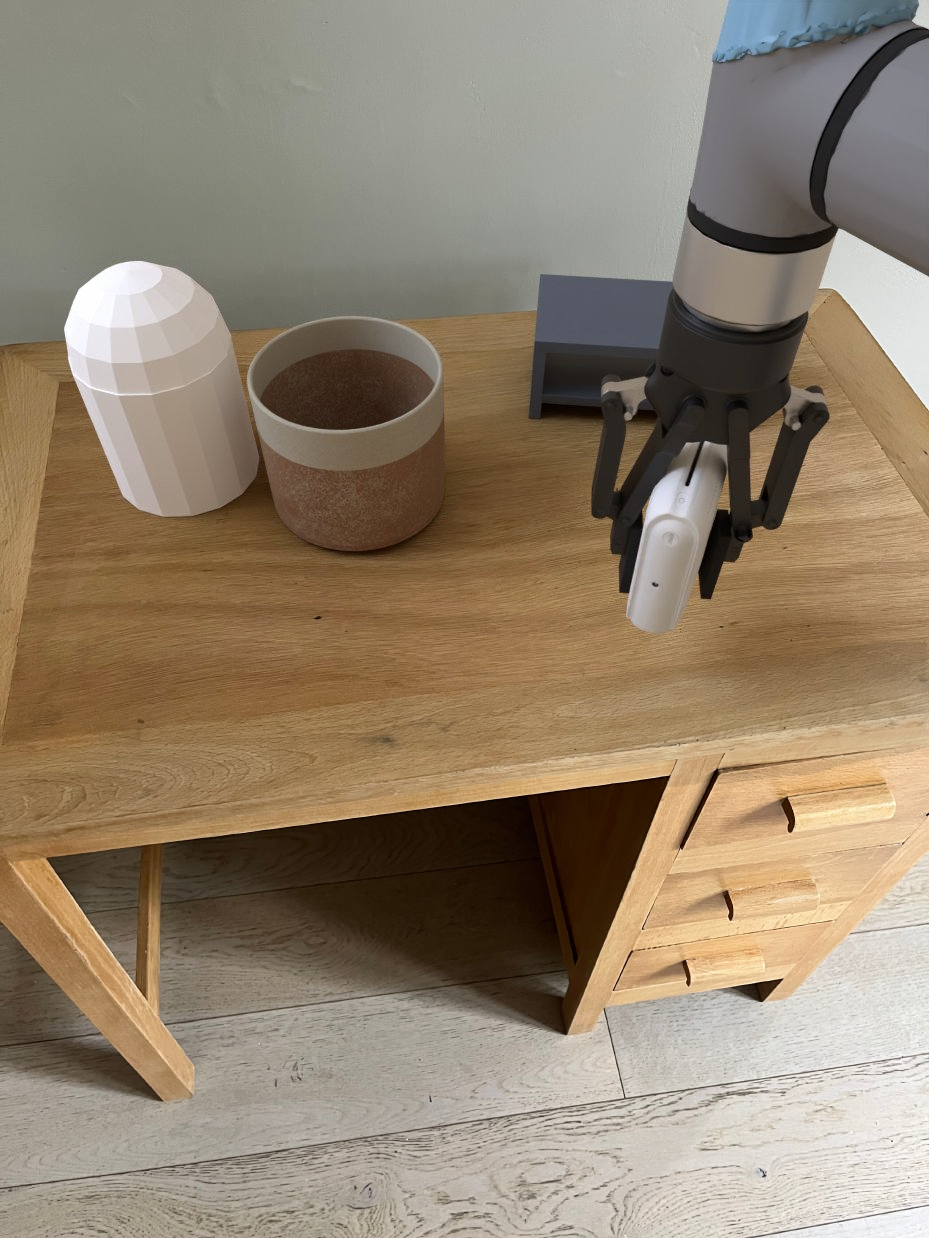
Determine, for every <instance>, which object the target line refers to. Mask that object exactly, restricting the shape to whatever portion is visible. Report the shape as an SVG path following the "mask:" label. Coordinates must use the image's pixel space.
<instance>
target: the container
mask: <svg viewBox="0 0 929 1238" xmlns="http://www.w3.org/2000/svg"><path fill="white" fill-rule="evenodd" d="M63 331H64V336H65V344H66V350H67V359H68V364H69V366H70V367H69V368H70V370H71V374H72V377H73V379H74V381H75V384H76V386H77V388H78V391H79V393H80V396H81V399H82V401H83V403H84V405H85V408H86V411H87V413H88V416H89V418H90V420H91V422H92V425H93V427H94V430H95V433H96V434H97V437H98V439H99V443H100V445H101V447H102V449H103V451H104V455H105V456H106V459H107V461H108V464H109V466H110V469H111V471H112V473H113V476H114V479H115V481H116V483H117V486H118V488H119V491H120V493H121V495H122V497H123V498H124V499H125V500H127V501H128V502H129V503H130V504H131V505H132V506H134V507H135V508H136V509H137V510H139V511H142V512H145V513H149V514H151V515H155V516H159V517H163V518H166V517H167V518H169V517H194V516H198V515H200V514H205V513H208V512H210V511H214V510H218V509H221V508H222V507H224V506H225V505H227V504H229V503H230V502H233V501H234V500H235V499H237V498H238V497H240V496H241V495H243V494H244V493H245V492H246V491H247V489H248V488H249V486H250V485H251V484H252V483H253V481H254V480H255V479H256V478H257V474H258V469H259V462H260V456H259V450H258V446H257V443H256V438H255V432H254V429H253V425H252V421H251V417H250V416H251V415H250V412H249V408H248V404H247V400H246V395H245V391H244V386H243V382H242V378H241V373H240V368H239V366H238V361H237V356H236V352H235V348H234V344H233V340H232V333H231V332H230V330H229V327H228V326H227V323H226V322H225V319H224V317H223V315H222V314H221V311H220V309H219V307H218V305H217V303H216V302H215V299H214V296H213V295H212V294H211V293H210V292H208V291H207V290H206V289H205V288H204V287H203V286H202V285H200V284H199V283H198V282H196V281H195V280H194V279H193V278H192V277H191V276H190V275H187V274H186V273H184V272H183V271H182V270H180V269H178V268H177V267H176V268H175V267H170V266H166V265H162V264H157V263H152V262H148V261H143V260H137V261H136V260H132V261H131V260H130V261H129V260H128V261H125V262H119V263H116V264H114V265H111V266H109V267H107V268H105V269H103V270H102V271H100V272H99V273H98V274H96V275H95V276H93V277H92V278H91V279H90V280H89V281H87V282H86V283H85V284H83V285H82V286H81V287H80V288H79V289H78V290H77V292H76V294H75V297H74V298H73V301H72V304H71V307H70V309H69V312H68V316H67V319H66V322H65V324H64V327H63Z"/></svg>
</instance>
